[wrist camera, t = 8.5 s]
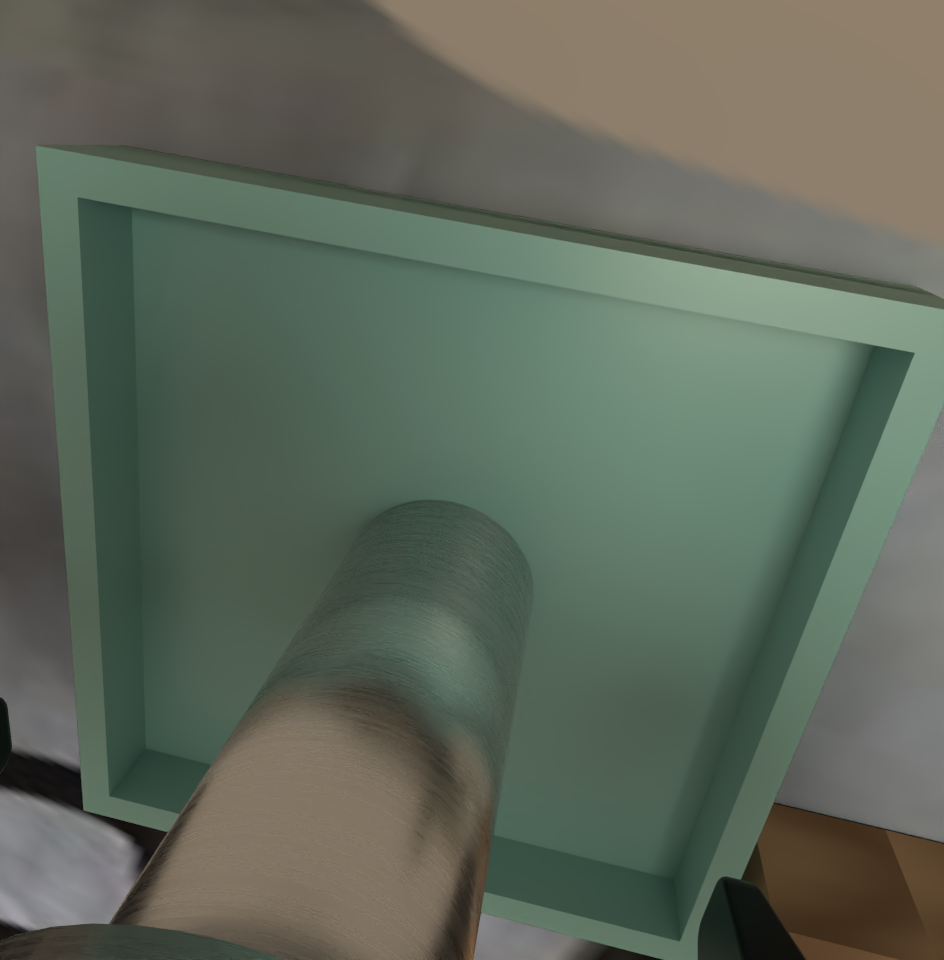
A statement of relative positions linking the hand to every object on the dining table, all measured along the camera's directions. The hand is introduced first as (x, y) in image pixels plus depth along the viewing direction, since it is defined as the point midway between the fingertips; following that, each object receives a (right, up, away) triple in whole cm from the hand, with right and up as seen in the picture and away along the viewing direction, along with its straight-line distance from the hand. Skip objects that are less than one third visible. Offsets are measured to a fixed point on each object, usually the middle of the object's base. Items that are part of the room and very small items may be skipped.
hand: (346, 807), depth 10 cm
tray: (+1, +2, +6) cm, 6 cm away
